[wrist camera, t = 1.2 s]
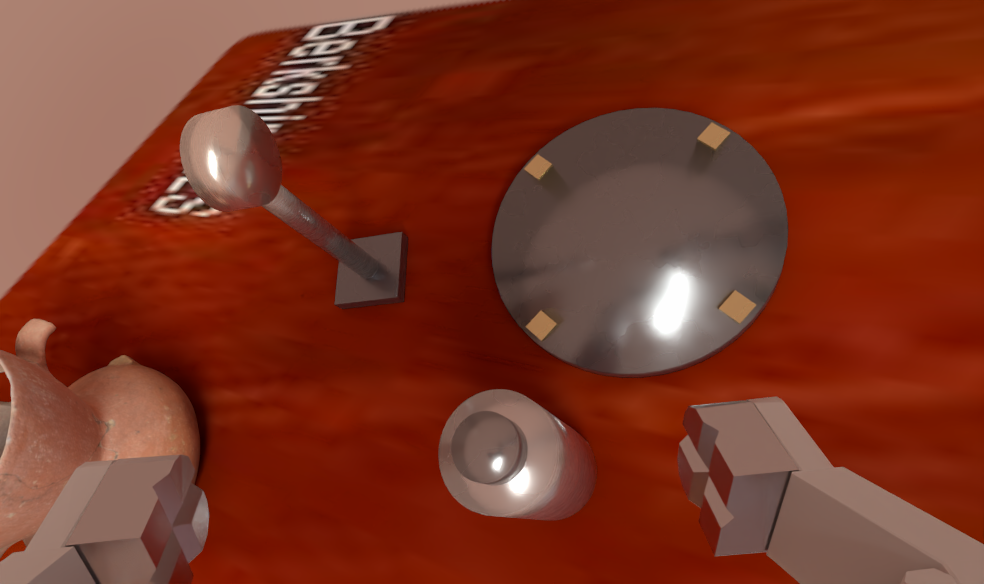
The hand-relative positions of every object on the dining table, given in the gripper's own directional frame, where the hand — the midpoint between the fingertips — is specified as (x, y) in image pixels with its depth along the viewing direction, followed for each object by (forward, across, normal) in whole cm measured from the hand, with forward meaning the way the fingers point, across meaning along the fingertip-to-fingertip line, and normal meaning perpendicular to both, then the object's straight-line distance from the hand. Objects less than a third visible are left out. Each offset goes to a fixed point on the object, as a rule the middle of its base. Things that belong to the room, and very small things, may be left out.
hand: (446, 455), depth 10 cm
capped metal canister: (+18, -5, +20) cm, 28 cm away
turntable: (+27, -12, +10) cm, 32 cm away
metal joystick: (+33, +5, +15) cm, 36 cm away
